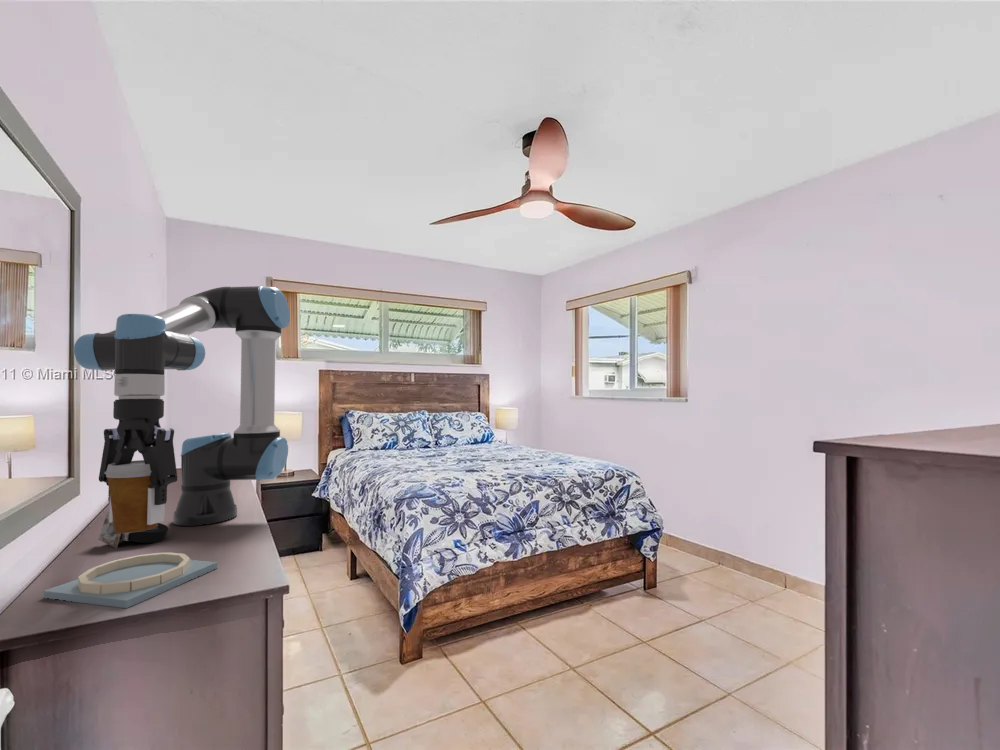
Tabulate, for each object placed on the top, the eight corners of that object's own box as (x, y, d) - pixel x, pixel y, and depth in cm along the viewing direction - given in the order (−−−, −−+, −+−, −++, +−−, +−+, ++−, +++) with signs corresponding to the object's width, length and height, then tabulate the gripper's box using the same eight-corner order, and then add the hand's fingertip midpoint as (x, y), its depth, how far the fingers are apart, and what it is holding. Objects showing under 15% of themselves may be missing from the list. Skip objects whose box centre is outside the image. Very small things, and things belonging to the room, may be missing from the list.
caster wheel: (170, 548, 116) (126, 555, 107) (139, 534, 120) (95, 539, 111) (178, 521, 117) (136, 525, 107) (148, 507, 121) (105, 510, 111)
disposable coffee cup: (179, 524, 91) (180, 460, 92) (124, 538, 82) (126, 467, 83) (146, 520, 95) (148, 458, 95) (90, 532, 86) (92, 465, 86)
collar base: (144, 561, 99) (144, 548, 99) (217, 568, 95) (217, 554, 95) (43, 598, 82) (43, 582, 82) (126, 608, 78) (126, 591, 78)
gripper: (74, 398, 89) (71, 523, 88) (166, 397, 84) (163, 530, 82) (116, 398, 96) (113, 514, 95) (202, 397, 91) (200, 519, 90)
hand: (136, 521), depth 89 cm, fingers closed on disposable coffee cup, 8 cm apart
